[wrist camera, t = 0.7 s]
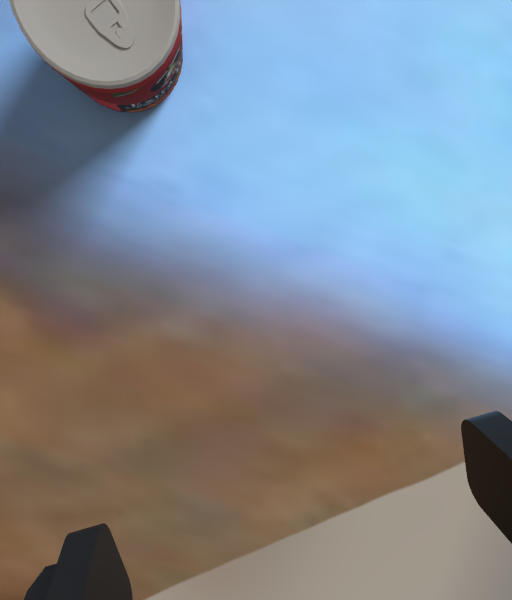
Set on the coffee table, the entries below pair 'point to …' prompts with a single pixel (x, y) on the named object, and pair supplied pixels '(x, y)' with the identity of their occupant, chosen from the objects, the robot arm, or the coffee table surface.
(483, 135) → the coffee table surface
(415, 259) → the coffee table surface
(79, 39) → the canned food
